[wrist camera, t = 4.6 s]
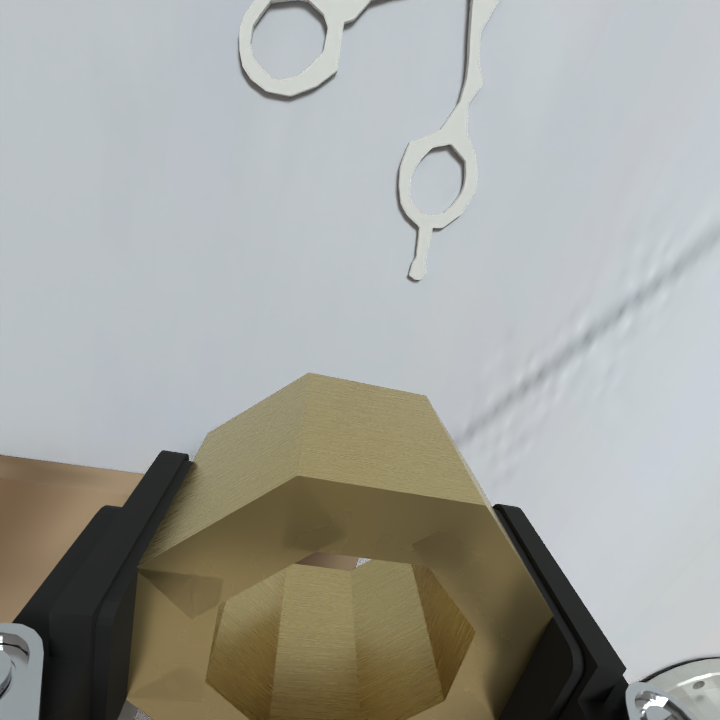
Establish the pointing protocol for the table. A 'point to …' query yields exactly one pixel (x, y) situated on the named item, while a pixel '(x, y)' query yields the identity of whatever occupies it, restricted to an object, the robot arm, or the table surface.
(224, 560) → the ring
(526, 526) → the robot arm
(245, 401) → the table surface
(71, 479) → the post plate
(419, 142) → the scissors
